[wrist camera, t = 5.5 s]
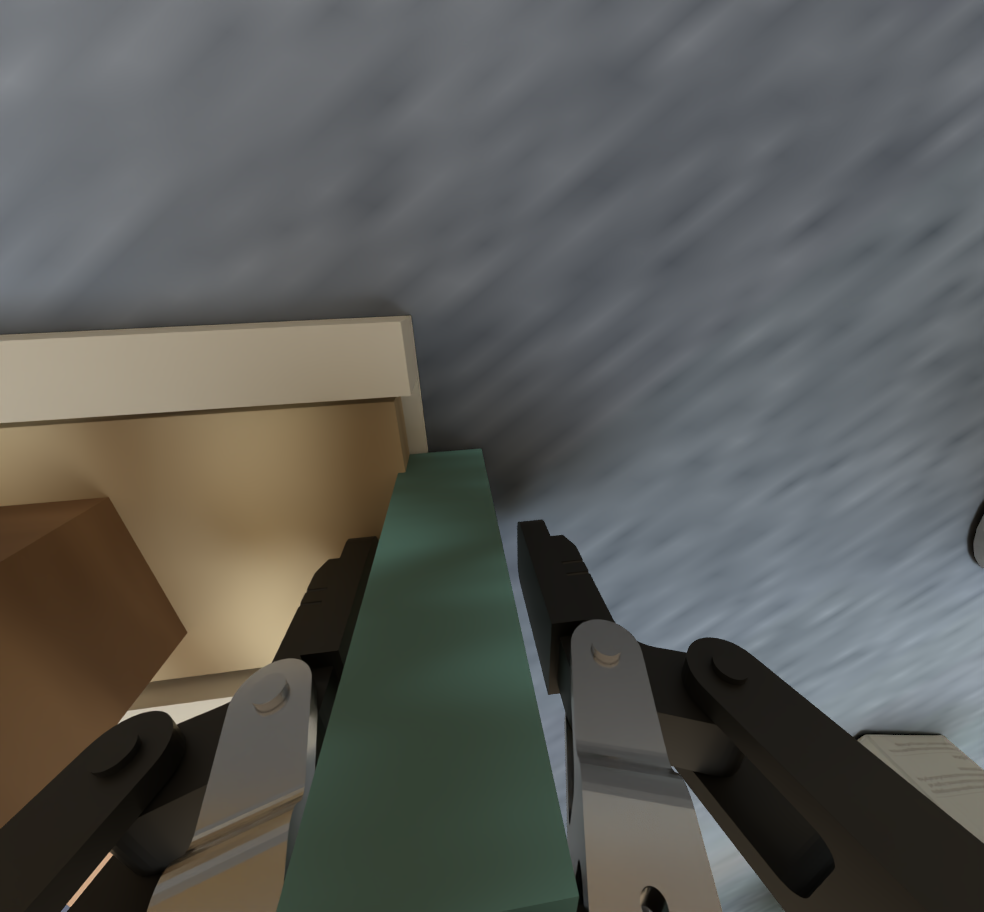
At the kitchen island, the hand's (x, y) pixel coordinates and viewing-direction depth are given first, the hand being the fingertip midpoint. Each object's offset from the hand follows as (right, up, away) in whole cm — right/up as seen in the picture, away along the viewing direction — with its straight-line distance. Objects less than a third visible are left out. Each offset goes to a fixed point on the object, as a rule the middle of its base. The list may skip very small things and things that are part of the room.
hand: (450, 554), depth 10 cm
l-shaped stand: (-7, 0, +1) cm, 7 cm away
